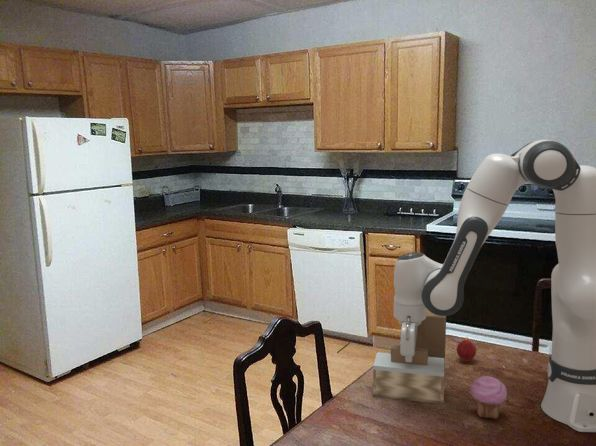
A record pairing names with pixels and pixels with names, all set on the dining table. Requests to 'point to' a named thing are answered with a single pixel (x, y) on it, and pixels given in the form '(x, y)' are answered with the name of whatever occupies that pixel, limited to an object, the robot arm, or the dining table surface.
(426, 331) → the wooden block
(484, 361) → the dining table surface
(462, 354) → the onion
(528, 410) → the dining table surface
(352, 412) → the dining table surface
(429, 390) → the light wooden open box
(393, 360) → the lid
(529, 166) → the robot arm
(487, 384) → the cupcake
